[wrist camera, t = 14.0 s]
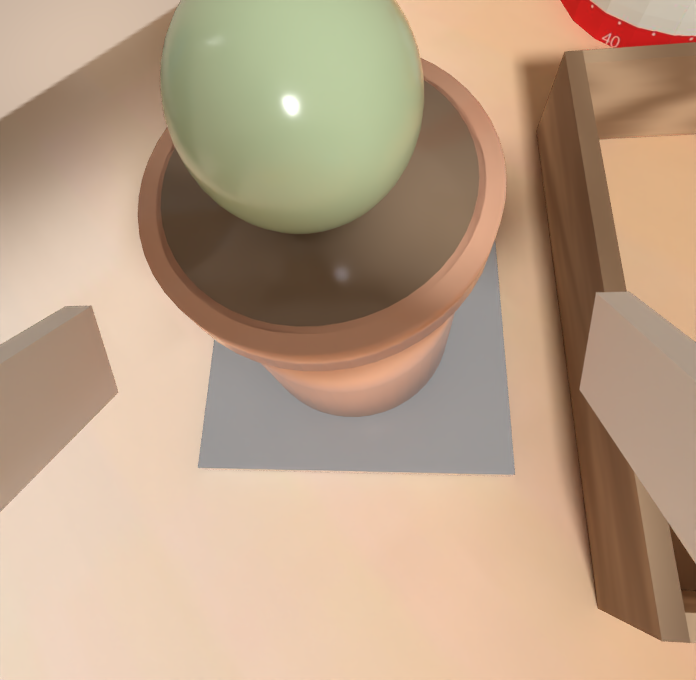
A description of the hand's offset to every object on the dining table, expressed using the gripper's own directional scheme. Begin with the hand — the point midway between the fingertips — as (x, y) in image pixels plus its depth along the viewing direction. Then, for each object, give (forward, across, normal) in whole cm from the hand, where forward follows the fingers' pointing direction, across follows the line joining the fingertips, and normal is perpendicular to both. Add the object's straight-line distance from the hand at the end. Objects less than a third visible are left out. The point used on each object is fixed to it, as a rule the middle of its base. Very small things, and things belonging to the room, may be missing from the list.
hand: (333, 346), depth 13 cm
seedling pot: (+10, 0, -4) cm, 11 cm away
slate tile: (+11, 0, -4) cm, 12 cm away
